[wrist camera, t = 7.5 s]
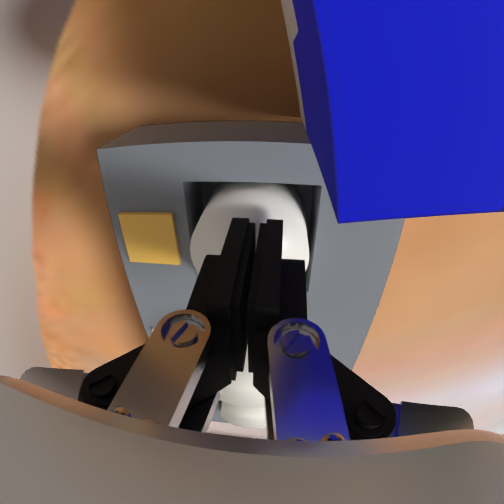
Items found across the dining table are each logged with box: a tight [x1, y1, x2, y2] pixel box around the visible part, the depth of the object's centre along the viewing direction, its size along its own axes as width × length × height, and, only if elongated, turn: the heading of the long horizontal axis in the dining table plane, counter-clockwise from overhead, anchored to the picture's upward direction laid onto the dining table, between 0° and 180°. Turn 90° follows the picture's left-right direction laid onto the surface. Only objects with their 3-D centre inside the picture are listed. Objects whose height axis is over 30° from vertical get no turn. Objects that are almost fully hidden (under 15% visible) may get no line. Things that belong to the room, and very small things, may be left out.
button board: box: [97, 121, 405, 423], centre depth 18 cm, size 12×22×4 cm, turn 0°
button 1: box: [190, 182, 309, 274], centre depth 13 cm, size 4×4×4 cm
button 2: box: [220, 401, 266, 428], centre depth 21 cm, size 4×4×4 cm
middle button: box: [219, 344, 264, 408], centre depth 15 cm, size 4×4×4 cm
